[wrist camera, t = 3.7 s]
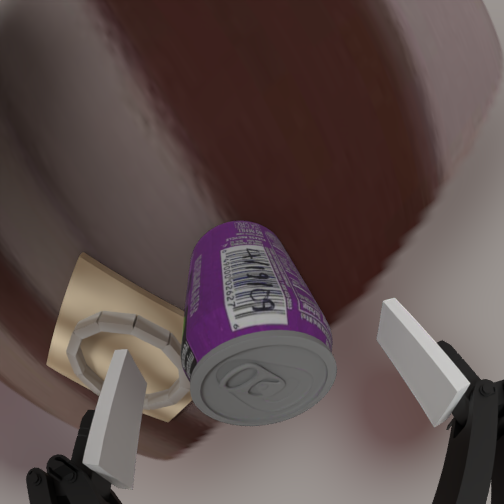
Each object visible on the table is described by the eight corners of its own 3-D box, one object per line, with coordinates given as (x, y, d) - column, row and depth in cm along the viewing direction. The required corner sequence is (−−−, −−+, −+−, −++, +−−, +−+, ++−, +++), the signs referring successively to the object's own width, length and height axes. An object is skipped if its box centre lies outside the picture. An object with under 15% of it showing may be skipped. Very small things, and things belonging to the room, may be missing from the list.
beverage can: (173, 270, 21) (147, 400, 10) (231, 197, 19) (259, 289, 8) (243, 315, 23) (268, 440, 12) (301, 254, 22) (375, 364, 11)
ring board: (168, 417, 29) (167, 432, 26) (48, 360, 23) (41, 373, 21) (244, 341, 25) (247, 358, 22) (83, 251, 19) (71, 264, 17)
